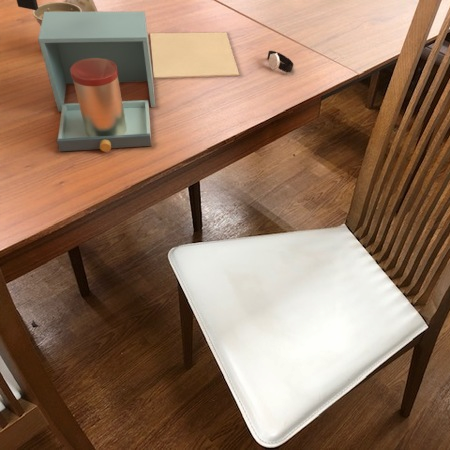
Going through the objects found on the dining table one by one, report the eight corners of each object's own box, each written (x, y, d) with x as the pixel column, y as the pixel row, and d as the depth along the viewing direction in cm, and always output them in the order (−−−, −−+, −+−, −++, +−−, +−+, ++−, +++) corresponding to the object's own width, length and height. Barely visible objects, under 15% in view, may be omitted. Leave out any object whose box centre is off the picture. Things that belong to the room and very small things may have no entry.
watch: (261, 61, 116) (262, 46, 113) (278, 57, 118) (279, 42, 115) (281, 77, 112) (282, 62, 109) (298, 72, 114) (299, 57, 111)
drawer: (151, 149, 89) (150, 139, 88) (59, 155, 86) (55, 145, 84) (148, 108, 98) (147, 98, 97) (64, 111, 95) (62, 101, 93)
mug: (50, 16, 121) (63, -25, 118) (92, 34, 126) (105, -5, 123) (48, 22, 115) (61, -21, 112) (92, 41, 120) (106, 0, 117)
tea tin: (78, 137, 89) (61, 75, 80) (95, 115, 94) (82, 54, 85) (117, 144, 89) (106, 83, 80) (133, 121, 94) (123, 61, 85)
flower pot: (87, 38, 115) (79, 0, 109) (92, 58, 109) (84, 19, 103) (42, 42, 112) (31, 3, 106) (45, 63, 106) (33, 22, 100)
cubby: (155, 107, 99) (146, 37, 89) (58, 111, 95) (37, 38, 85) (152, 79, 106) (144, 11, 96) (62, 82, 102) (44, 11, 92)
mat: (239, 75, 110) (239, 74, 110) (153, 78, 106) (153, 76, 106) (226, 33, 124) (226, 32, 123) (150, 34, 119) (149, 33, 119)
